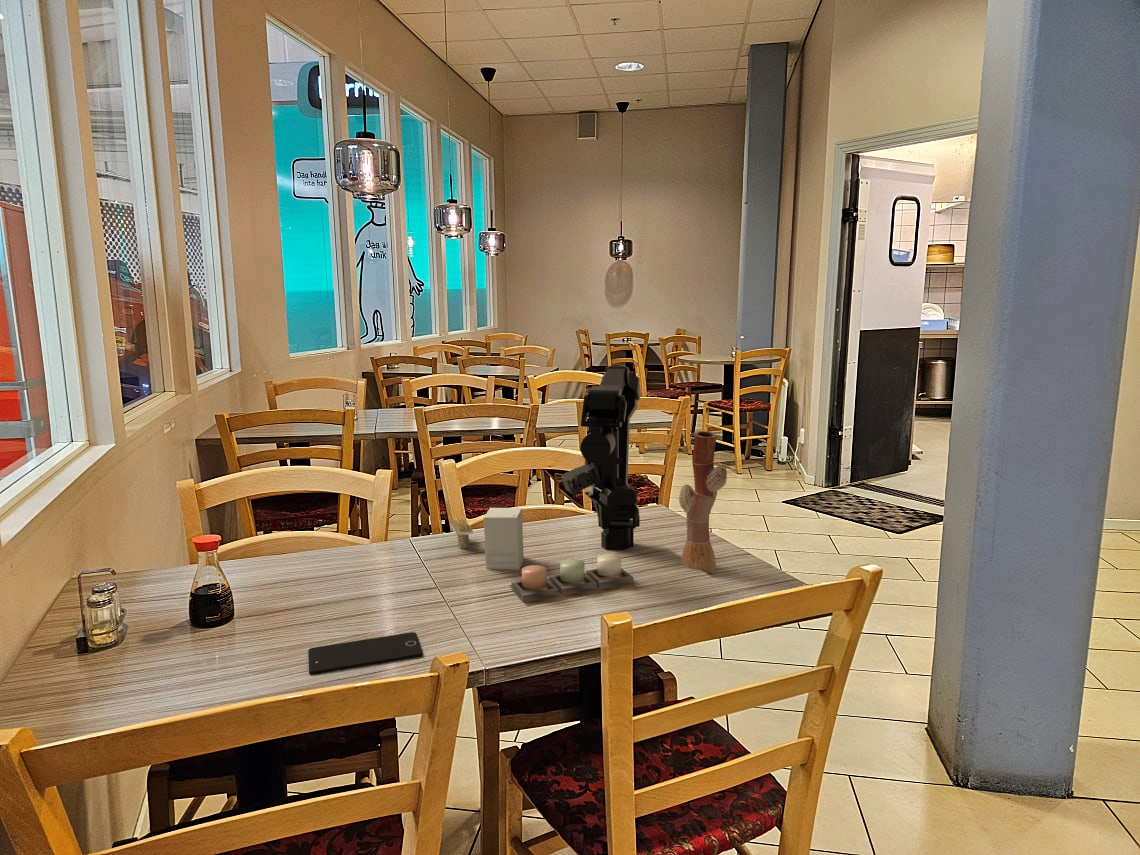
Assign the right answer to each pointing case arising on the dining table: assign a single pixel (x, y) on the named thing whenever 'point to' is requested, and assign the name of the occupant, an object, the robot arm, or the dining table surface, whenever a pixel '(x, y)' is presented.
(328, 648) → the cell phone
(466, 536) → the toothpick holder
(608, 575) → the cream button
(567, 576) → the sage green rounded piece
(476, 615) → the dining table surface
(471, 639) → the dining table surface
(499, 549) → the supplement box
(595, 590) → the brown compartment tray
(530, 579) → the terracotta button
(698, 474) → the vase
